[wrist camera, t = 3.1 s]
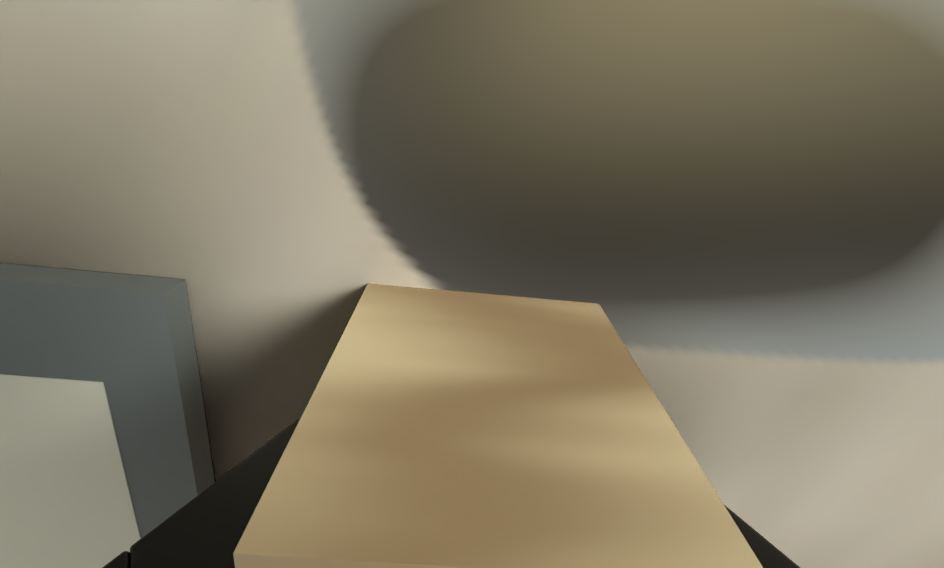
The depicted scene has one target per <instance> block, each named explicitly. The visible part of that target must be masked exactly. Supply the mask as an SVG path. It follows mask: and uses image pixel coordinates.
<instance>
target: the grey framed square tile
mask: <svg viewBox="0 0 944 568" xmlns="http://www.w3.org/2000/svg"><path fill="white" fill-rule="evenodd" d="M213 483H215V480H214V473H213V466H212V459H211V452H210V445H209V438H208V431H207V424H206V417H205V411H204V404H203V397H202V390H201V383H200V376H199V369H198V362H197V355H196V348H195V342H194V335H193V328H192V321H191V314H190V307H189V300H188V293H187V286H186V280H185V279H174V278H163V277H151V276H140V275H129V274H118V273H106V272H95V271H84V270H73V269H61V268H50V267H39V266H27V265H16V264H5V263H0V568H102V567H104V566H105V565H106V564H107V563H109V562H110V561H111V560H113V559H114V558H115V557H117V556H118V555H119V554H121V553H122V552H124V551H128V552H129V553H130V547H131V546H132V545H133V544H134V543H136V542H137V541H138V540H140V539H141V538H142V537H143V536H145V535H146V534H147V533H149V532H150V531H151V530H153V529H154V528H155V527H157V526H158V525H159V524H161V523H162V522H163V521H165V520H166V519H167V518H169V517H170V516H171V515H172V514H174V513H175V512H176V511H178V510H179V509H180V508H182V507H183V506H184V505H186V504H187V503H188V502H190V501H191V500H192V499H194V498H195V497H196V496H198V495H199V494H200V493H202V492H203V491H204V490H205V489H207V488H208V487H209V486H211V485H212V484H213Z"/></svg>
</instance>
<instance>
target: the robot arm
mask: <svg viewBox="0 0 944 568" xmlns="http://www.w3.org/2000/svg"><path fill="white" fill-rule="evenodd" d="M300 419H301V417H300V418H299V419H298V420H297V421H295V422H294V423H293V424H291V425H290V426H289V427H287V428H286V429H285V430H283V431H282V432H281V433H279V434H278V435H277V436H275V437H274V438H273V439H271V440H270V441H269V442H267V443H266V444H265V445H264V446H262V447H261V448H260V449H258V450H257V451H256V452H254V453H253V454H252V455H250V456H249V457H248V458H246V459H245V460H244V461H242V462H241V463H240V464H238V465H237V466H236V467H235V468H233V469H232V470H231V471H229V472H228V473H227V474H225V475H224V476H223V477H221V478H220V479H219V480H217V481H216V482H215V483H213V484H212V485H211V486H209V487H208V488H207V489H205V490H204V491H203V492H202V493H200V494H199V495H198V496H196V497H195V498H194V499H192V500H191V501H190V502H188V503H187V504H186V505H184V506H183V507H182V508H180V509H179V510H178V511H176V512H175V513H174V514H172V515H171V516H170V517H169V518H167V519H166V520H165V521H163V522H162V523H161V524H159V525H158V526H157V527H155V528H154V529H153V530H151V531H150V532H149V533H147V534H146V535H145V536H143V537H142V538H141V539H140V540H138V541H137V542H136V543H134V544H133V545H132V546H131V547H130V553H129V552H128V551H124V552H122V553H121V554H119V555H118V556H117V557H115V558H114V559H113V560H111V561H110V562H109V563H107V564H106V565H105V566H104V567H102V568H235V564H234V556H233V553H234V551H235V549H236V547H237V545H238V543H239V541H240V539H241V537H242V535H243V533H244V531H245V529H246V527H247V525H248V523H249V521H250V519H251V517H252V515H253V513H254V511H255V509H256V507H257V505H258V503H259V501H260V499H261V497H262V495H263V493H264V491H265V489H266V487H267V485H268V483H269V481H270V479H271V477H272V475H273V473H274V471H275V469H276V467H277V465H278V463H279V461H280V459H281V457H282V455H283V453H284V451H285V449H286V447H287V445H288V443H289V441H290V439H291V437H292V435H293V433H294V431H295V429H296V427H297V425H298V423H299V421H300ZM724 506H725V505H724ZM725 507H726V506H725ZM726 509H727V511H728V512H729V514H730V515H731V517H732V519H733V520H734V522H735V523H736V525H737V527H738V528H739V530H740V531H741V533H742V535H743V536H744V538H745V539H746V541H747V543H748V544H749V546H750V547H751V549H752V551H753V552H754V554H755V555H756V557H757V559H758V560H759V562H760V564H761V565H762V567H763V568H800V567H799V566H798V565H796V564H795V563H794V562H793V561H792V560H790V559H789V558H788V557H787V556H785V555H784V554H783V553H782V552H781V551H779V550H778V549H777V548H776V547H775V546H773V545H772V544H771V543H770V542H769V541H767V540H766V539H765V538H764V537H763V536H761V535H760V534H759V533H758V532H756V531H755V530H754V529H753V528H752V527H750V526H749V525H748V524H747V523H746V522H744V521H743V520H742V519H741V518H740V517H738V516H737V515H736V514H735V513H734V512H732V511H731V510H730V509H729V508H727V507H726Z"/></svg>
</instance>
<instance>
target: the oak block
mask: <svg viewBox="0 0 944 568" xmlns="http://www.w3.org/2000/svg"><path fill="white" fill-rule="evenodd" d="M233 556H234V564H235V568H763V567H762V565H761V564H760V562H759V560H758V559H757V557H756V555H755V554H754V552H753V551H752V549H751V547H750V546H749V544H748V543H747V541H746V539H745V538H744V536H743V535H742V533H741V531H740V530H739V528H738V527H737V525H736V523H735V522H734V520H733V519H732V517H731V515H730V514H729V512H728V511H727V509H726V507H725V506H724V504H723V502H722V501H721V499H720V498H719V496H718V494H717V493H716V491H715V490H714V488H713V486H712V485H711V483H710V482H709V480H708V478H707V477H706V475H705V474H704V472H703V470H702V469H701V467H700V466H699V464H698V462H697V461H696V459H695V457H694V456H693V454H692V453H691V451H690V449H689V448H688V446H687V445H686V443H685V441H684V440H683V438H682V437H681V435H680V433H679V432H678V430H677V429H676V427H675V425H674V424H673V422H672V421H671V419H670V417H669V416H668V414H667V413H666V411H665V409H664V408H663V406H662V404H661V403H660V401H659V400H658V398H657V396H656V395H655V393H654V392H653V390H652V388H651V387H650V385H649V384H648V382H647V380H646V379H645V377H644V376H643V374H642V372H641V371H640V369H639V368H638V366H637V364H636V363H635V361H634V360H633V358H632V356H631V355H630V353H629V351H628V350H627V348H626V347H625V345H624V343H623V342H622V340H621V339H620V337H619V335H618V334H617V332H616V331H615V329H614V327H613V326H612V324H611V323H610V321H609V319H608V318H607V316H606V315H605V313H604V311H603V310H602V308H601V307H600V305H599V304H597V303H586V302H573V301H562V300H552V299H540V298H529V297H517V296H507V295H495V294H484V293H473V292H461V291H451V290H439V289H437V290H434V289H422V288H411V287H400V286H389V285H378V284H367V286H366V288H365V290H364V292H363V294H362V296H361V298H360V300H359V302H358V304H357V306H356V308H355V310H354V312H353V314H352V316H351V318H350V320H349V322H348V324H347V326H346V328H345V330H344V332H343V334H342V336H341V338H340V340H339V342H338V344H337V346H336V348H335V350H334V352H333V354H332V356H331V358H330V360H329V362H328V364H327V366H326V368H325V370H324V372H323V374H322V376H321V378H320V380H319V382H318V384H317V386H316V389H315V391H314V393H313V395H312V397H311V399H310V401H309V403H308V405H307V407H306V409H305V411H304V413H303V415H302V417H301V419H300V421H299V423H298V425H297V427H296V429H295V431H294V433H293V435H292V437H291V439H290V441H289V443H288V445H287V447H286V449H285V451H284V453H283V455H282V457H281V459H280V461H279V463H278V465H277V467H276V469H275V471H274V473H273V475H272V477H271V479H270V481H269V483H268V485H267V487H266V489H265V491H264V493H263V495H262V497H261V499H260V501H259V503H258V505H257V507H256V509H255V511H254V513H253V515H252V517H251V519H250V521H249V523H248V525H247V527H246V529H245V531H244V533H243V535H242V537H241V539H240V541H239V543H238V545H237V547H236V549H235V551H234V553H233Z"/></svg>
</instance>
